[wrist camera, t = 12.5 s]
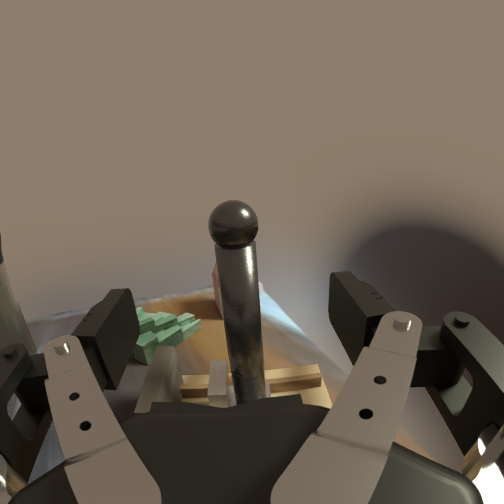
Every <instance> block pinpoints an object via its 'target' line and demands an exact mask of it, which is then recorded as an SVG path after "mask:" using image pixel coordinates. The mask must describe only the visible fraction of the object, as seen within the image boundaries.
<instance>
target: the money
mask: <svg viewBox="0 0 504 504" xmlns="http://www.w3.org/2000/svg"><path fill="white" fill-rule="evenodd" d="M136 312H137V316H138V320H139V324H140V335H139V338H138V340H137V342H136V345H135V347H134V349H133V352H132V354H131V356H130V358H133V359H136V360H138V361H140V362H142V363H144V364H146V365H150V364H151V361H152V358H153V355H154V352H155V350H156V347H157V346H174V347H175V346H177V345H178V344H179V343H181V342H183V341H185V340H186V339H187V338H189V337H190V336H192V335H193V334H194V332H196V331H198V330H199V329H201V323H200V322H201V319H198V320H196V321H195V318H194V316H195V315H193V314H190V313H184V314H182V315H180V316H178V317H176V316H175V315H173V314H169V313H164V312H158V313H157V314H154V313H145V312H144V311H143V307H137V309H136Z"/></svg>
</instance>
